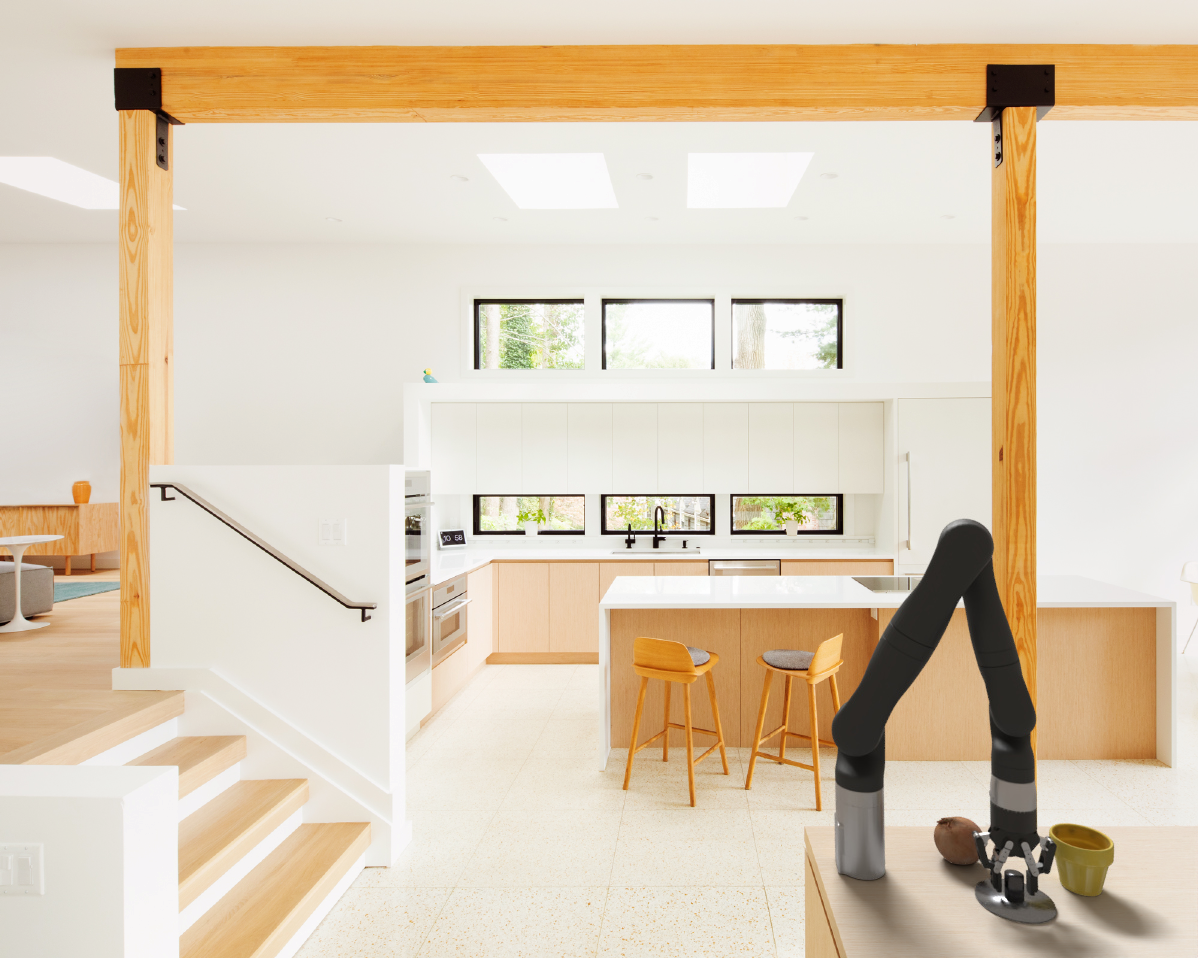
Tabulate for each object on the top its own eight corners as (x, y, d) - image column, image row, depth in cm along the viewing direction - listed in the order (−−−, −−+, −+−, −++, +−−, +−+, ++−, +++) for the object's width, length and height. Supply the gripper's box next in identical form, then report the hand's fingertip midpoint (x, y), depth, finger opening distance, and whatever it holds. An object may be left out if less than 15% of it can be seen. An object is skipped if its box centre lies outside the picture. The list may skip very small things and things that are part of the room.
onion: (942, 877, 148) (918, 832, 149) (954, 846, 155) (931, 804, 155) (989, 877, 142) (963, 831, 142) (999, 845, 148) (975, 801, 149)
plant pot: (1125, 905, 133) (1125, 852, 132) (1062, 900, 135) (1062, 847, 134) (1098, 874, 143) (1098, 824, 143) (1040, 869, 145) (1040, 820, 145)
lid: (987, 921, 130) (986, 890, 130) (966, 880, 142) (965, 852, 142) (1068, 929, 127) (1068, 898, 127) (1039, 886, 140) (1039, 858, 140)
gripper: (976, 806, 132) (978, 899, 132) (1064, 812, 129) (1065, 907, 129) (965, 788, 139) (966, 876, 140) (1048, 793, 136) (1049, 883, 137)
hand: (1014, 891), depth 135 cm, fingers open, 5 cm apart
